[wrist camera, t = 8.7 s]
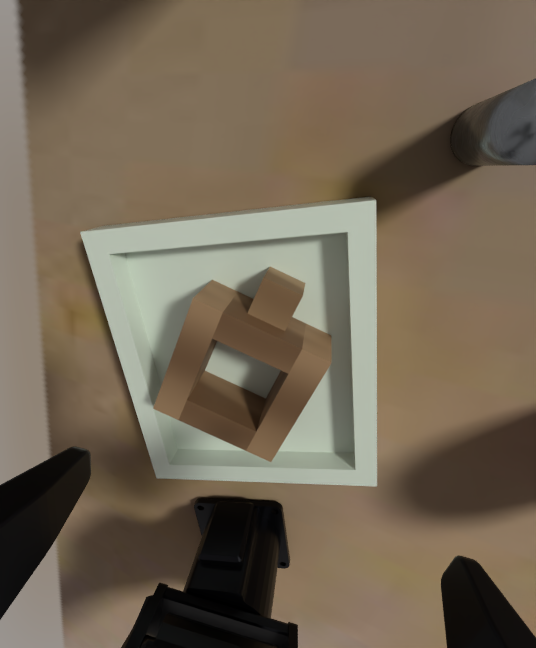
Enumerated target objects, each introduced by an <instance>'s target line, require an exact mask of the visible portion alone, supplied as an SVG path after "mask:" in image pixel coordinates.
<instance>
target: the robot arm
mask: <svg viewBox="0 0 536 648" xmlns="http://www.w3.org/2000/svg"><path fill="white" fill-rule="evenodd" d="M90 475H91V460H90V452H89V451H88V450H86V449H83V448H79V447H71V448H68V449H67V450H65V451H63V452H61V453H59V454H57V455H55V456H53V457H52V458H50V459H48V460H46V461H44V462H43V463H40V464H39V465H37V466H35V467H33V468H31V469H29V470H27V471H26V472H24V473H22V474H20V475H18V476H16V477H14V478H12V479H11V480H9V481H7V482H5V483H3V484H1V485H0V619H1V618H2V616H3V615H4V613H5V612H6V611H7V609H8V608H9V606H10V605H11V604H12V602H13V601H14V599H15V598H16V596H17V595H18V594H19V592H20V591H21V589H22V588H23V586H24V585H25V583H26V582H27V581H28V579H29V578H30V576H31V575H32V574H33V572H34V571H35V569H36V568H37V566H38V565H39V564H40V562H41V561H42V559H43V558H44V556H45V555H46V553H47V552H48V550H49V549H50V547H51V546H52V544H53V543H54V541H55V539H56V538H57V536H58V534H59V533H60V531H61V529H62V527H63V526H64V524H65V522H66V520H67V519H68V517H69V515H70V513H71V512H72V510H73V508H74V506H75V505H76V503H77V501H78V499H79V498H80V496H81V494H82V492H83V491H84V489H85V487H86V485H87V483H88V481H89V479H90ZM194 508H195V512H196V516H197V520H198V523H199V527H200V531H201V535H202V538H201V541H200V544H199V547H198V550H197V553H196V556H195V559H194V562H193V565H192V567H191V570H190V573H189V576H188V579H187V582H186V585H185V588H184V591H179V590H176V589H173V588H170V587H168V585H166V584H163V583H159V584H158V586H157V588H156V591H155V593H154V595H151V596H148V597H146V599H145V602H144V604H143V606H142V609H141V611H140V613H139V616H138V618H137V620H136V622H135V625H134V627H133V629H132V630H131V632H130V634H129V635H128V637H127V639H126V640H125V642H124V644H123V645H122V647H121V648H298V625H297V624H294V623H290V622H288V624H287V623H284V622H281V621H277V620H274V619H271V612H272V605H273V597H274V589H275V582H276V574H277V568H288V567H289V563H290V556H289V549H288V542H287V535H286V528H285V521H284V514H283V507H282V505H281V504H280V503H278V502H267V501H246V500H224V499H203V498H200V499H197V501H196V503H195V505H194ZM275 509H276V510H275ZM441 591H442V601H443V611H444V621H445V631H446V641H447V648H536V637H535V636H534V635H533V633H532V632H531V631H530V629H529V628H528V627H527V626H526V624H525V623H524V622H523V620H522V619H521V618H520V616H519V615H518V614H517V612H516V611H515V610H514V608H513V607H512V606H511V605H510V603H509V602H508V601H507V599H506V598H505V597H504V595H503V594H502V593H501V591H500V590H499V589H498V588H497V586H496V585H495V584H494V582H493V581H492V580H491V578H490V577H489V576H488V574H487V573H486V572H485V571H484V569H483V568H482V567H481V565H480V564H479V563H478V562H477V561H475V560H473V559H470V558H467V557H463V556H456V557H455V558H454V559H453V561H452V562H451V563H450V565H449V566H448V568H447V569H446V570H445V572H444V573H443V575H442V579H441Z"/></svg>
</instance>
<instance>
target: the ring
mask: <svg viewBox="0 0 536 648" xmlns="http://www.w3.org/2000/svg"><path fill="white" fill-rule="evenodd" d="M305 284H306V283H304V282H302V281H300V280H298V279H296V278H294V277H291V276H289V275H287V274H285V273H283V272H281V271H279V270H277V269H274V268H272V267H269V269H268V271H267V272H266V274H265V276H264V277H263V280H262V282H261V284H260V286H259V288H258V291H257V293H256V295H255V297H254V299H253V298H251V297H248V296H246V295H244V294H242V293H240V292H238V291H236V290H233V289H231V288H229V287H227V286H225V285H223V284H221V283H219V282H216V281H214V280H211V281H210V282H209V283H208V284H207V285H206V286H205V287H204V288H203V289H202V290H201V291H200V292H199V293H198V294H197V295H196V296H195V297H194V298H193V299H192V302H191V305H190V308H189V310H188V313H187V316H186V319H185V321H184V324H183V327H182V330H181V332H180V335H179V338H178V341H177V344H176V346H175V349H174V352H173V355H172V357H171V360H170V363H169V366H168V368H167V371H166V374H165V377H164V380H163V382H162V385H161V388H160V391H159V393H158V396H157V399H156V402H155V404H154V407H153V409H155V410H157V411H159V412H161V413H164V414H166V415H168V416H170V417H172V418H175V419H177V420H179V421H181V422H183V423H186V424H188V425H190V426H192V427H194V428H197V429H199V430H201V431H203V432H205V433H208V434H210V435H212V436H214V437H216V438H219V439H221V440H223V441H225V442H227V443H230V444H232V445H234V446H236V447H238V448H241V449H243V450H245V451H247V452H249V453H252V454H254V455H256V456H258V457H260V458H263V459H265V460H267V461H269V462H272V460H273V458H274V457H275V455H276V453H277V452H278V450H279V449H280V447H281V445H282V444H283V442H284V440H285V439H286V437H287V435H288V434H289V432H290V430H291V429H292V427H293V426H294V424H295V422H296V421H297V419H298V417H299V416H300V414H301V412H302V411H303V409H304V407H305V406H306V404H307V403H308V401H309V399H310V398H311V396H312V394H313V393H314V391H315V389H316V388H317V386H318V384H319V383H320V381H321V380H322V378H323V376H324V375H325V373H326V371H327V370H328V368H329V366H330V365H331V363H332V351H331V335H330V334H327V333H325V332H323V331H321V330H319V329H317V328H315V327H313V326H310V325H308V324H306V323H304V322H302V321H300V320H298V319H295V318H293V317H292V316H293V314H294V312H295V310H296V308H297V306H298V304H299V303H300V301H301V299H302V297H303V293H304V288H305ZM217 341H218V342H221V343H223V344H225V345H227V346H229V347H231V348H234V349H236V350H238V351H240V352H242V353H244V354H246V355H249V356H251V357H253V358H255V359H257V360H259V361H262V362H264V363H266V364H268V365H270V366H272V367H275V368H277V369H279V370H281V371H280V373H279V375H278V377H277V379H276V380H275V382H274V384H273V386H272V388H271V390H270V392H269V393H268V395H267V397H266V398H264V397H261V396H259V395H257V394H255V393H253V392H251V391H248V390H246V389H244V388H242V387H240V386H238V385H235V384H233V383H231V382H229V381H227V380H225V379H222V378H220V377H218V376H216V375H214V374H211V373H209V372H207V371H205V369H206V367H207V364H208V362H209V360H210V357H211V355H212V353H213V350H214V348H215V345H216V343H217Z"/></svg>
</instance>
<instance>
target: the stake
mask: <svg viewBox="0 0 536 648" xmlns="http://www.w3.org/2000/svg"><path fill="white" fill-rule="evenodd" d="M450 143H451V149H452V152H453V154H454V155H455V157H456V158H457V159H458V160H459V161H460V162H462V163H464V164H467V165H473V166H487V165H536V79H533V80H531V81H529V82H527V83H524V84H522V85H520V86H517V87H515V88H513V89H510V90H508V91H506V92H503V93H501V94H499V95H496V96H494V97H492V98H489V99H487V100H485V101H482V102H480V103H478V104H475V105H473V106H471V107H470V108H468V109H467V110H466V111H464V112H463V113H462V114H461V116H460V117H459V118H458V119H457V121H456V123H455V125H454V127H453V129H452V133H451V138H450Z"/></svg>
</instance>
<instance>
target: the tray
mask: <svg viewBox="0 0 536 648" xmlns="http://www.w3.org/2000/svg"><path fill="white" fill-rule="evenodd" d="M80 233H81V236H82V239H83V243H84V246H85V249H86V252H87V256H88V259H89V262H90V265H91V268H92V272H93V275H94V278H95V281H96V285H97V288H98V291H99V294H100V297H101V301H102V304H103V307H104V310H105V314H106V317H107V320H108V323H109V326H110V330H111V333H112V336H113V339H114V343H115V346H116V349H117V352H118V355H119V359H120V362H121V365H122V368H123V372H124V375H125V378H126V381H127V384H128V388H129V391H130V394H131V397H132V400H133V404H134V407H135V410H136V413H137V417H138V420H139V423H140V426H141V429H142V433H143V436H144V439H145V442H146V446H147V449H148V452H149V455H150V458H151V462H152V465H153V468H154V471H155V475H156V478H164V479H191V480H219V481H246V482H273V483H300V484H327V485H354V486H377V299H376V200H375V199H374V198H373V197H362V198H353V199H344V200H335V201H326V202H317V203H308V204H298V205H289V206H280V207H271V208H262V209H253V210H244V211H235V212H226V213H217V214H208V215H198V216H189V217H180V218H171V219H162V220H153V221H144V222H135V223H126V224H117V225H108V226H101V227H97V228H94V229H90V230H86V231H82V232H80ZM269 267H272V268H274V269H277V270H279V271H281V272H283V273H285V274H287V275H289V276H291V277H294V278H296V279H298V280H300V281H302V282H304V283H306V284H305V288H304V293H303V297H302V299H301V301H300V303H299V304H298V306H297V308H296V310H295V312H294V314H293V316H292V317H293V318H295V319H298V320H300V321H302V322H304V323H306V324H308V325H310V326H313V327H315V328H317V329H319V330H321V331H323V332H325V333H327V334H330V335H331V351H332V363H331V365H330V366H329V368H328V370H327V371H326V373H325V375H324V376H323V378H322V380H321V381H320V383H319V384H318V386H317V388H316V389H315V391H314V393H313V394H312V396H311V398H310V399H309V401H308V403H307V404H306V406H305V407H304V409H303V411H302V412H301V414H300V416H299V417H298V419H297V421H296V422H295V424H294V426H293V427H292V429H291V430H290V432H289V434H288V435H287V437H286V439H285V440H284V442H283V444H282V445H281V447H280V449H279V450H278V452H277V453H276V455H275V457H274V458H273V460H272V462H269V461H267V460H265V459H263V458H260V457H258V456H256V455H254V454H252V453H249V452H247V451H245V450H243V449H241V448H238V447H236V446H234V445H232V444H230V443H227V442H225V441H223V440H221V439H219V438H216V437H214V436H212V435H210V434H208V433H205V432H203V431H201V430H199V429H197V428H194V427H192V426H190V425H188V424H186V423H183V422H181V421H179V420H177V419H175V418H172V417H170V416H168V415H166V414H164V413H161V412H159V411H157V410H155V409H153V407H154V404H155V402H156V399H157V396H158V393H159V391H160V388H161V385H162V382H163V380H164V377H165V374H166V371H167V368H168V366H169V363H170V360H171V357H172V355H173V352H174V349H175V346H176V344H177V341H178V338H179V335H180V332H181V330H182V327H183V324H184V321H185V319H186V316H187V313H188V310H189V308H190V305H191V302H192V299H193V298H194V297H195V296H196V295H197V294H198V293H199V292H200V291H201V290H202V289H203V288H204V287H205V286H206V285H207V284H208V283H209V282H210V281H211V280H214V281H216V282H219V283H221V284H223V285H225V286H227V287H229V288H231V289H233V290H236V291H238V292H240V293H242V294H244V295H246V296H248V297H251V298H253V299H254V297H255V295H256V293H257V291H258V288H259V286H260V284H261V282H262V280H263V277H264V276H265V274H266V272H267V271H268V269H269ZM205 371H207V372H209V373H211V374H214V375H216V376H218V377H220V378H222V379H225V380H227V381H229V382H231V383H233V384H235V385H238V386H240V387H242V388H244V389H246V390H248V391H251V392H253V393H255V394H257V395H259V396H261V397H264V398H266V397H267V395H268V393H269V392H270V390H271V388H272V386H273V384H274V382H275V380H276V379H277V377H278V375H279V373H280V371H281V370H279V369H277V368H275V367H272V366H270V365H268V364H266V363H264V362H262V361H259V360H257V359H255V358H253V357H251V356H249V355H246V354H244V353H242V352H240V351H238V350H236V349H234V348H231V347H229V346H227V345H225V344H223V343H221V342H218V341H217V343H216V345H215V348H214V350H213V353H212V355H211V357H210V360H209V362H208V364H207V367H206V369H205Z"/></svg>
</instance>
